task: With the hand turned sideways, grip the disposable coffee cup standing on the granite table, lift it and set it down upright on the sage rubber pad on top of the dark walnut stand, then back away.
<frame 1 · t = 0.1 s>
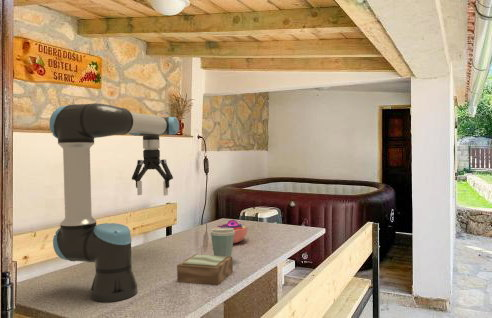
hand: (152, 195, 187), 28 cm above the table, tool pointing down, fingers open, 13 cm apart
cell model: (231, 242, 210), on the table
walnut stand: (206, 276, 154), on the table
disposable coffee cup: (223, 263, 172), on the table
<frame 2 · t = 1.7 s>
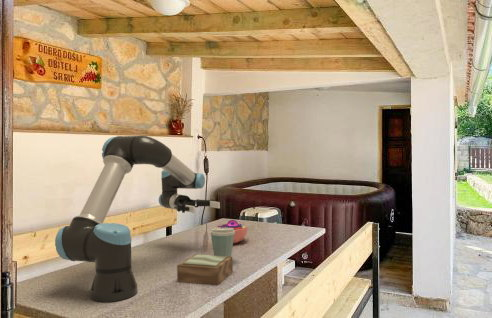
hand: (207, 207, 178), 23 cm above the table, tool horizontal, fingers open, 13 cm apart
nothing on the table moved.
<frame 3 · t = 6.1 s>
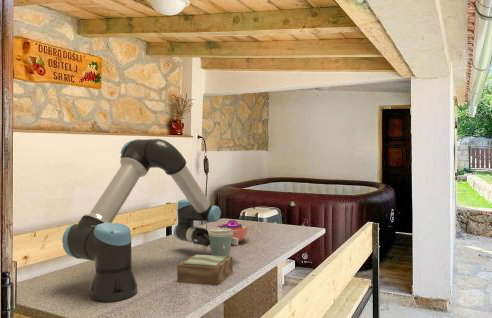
hand: (230, 243, 168), 9 cm above the table, tool horizontal, fingers open, 7 cm apart
disposable coffee cup: (221, 264, 170), on the table, touching gripper
everything else where it was.
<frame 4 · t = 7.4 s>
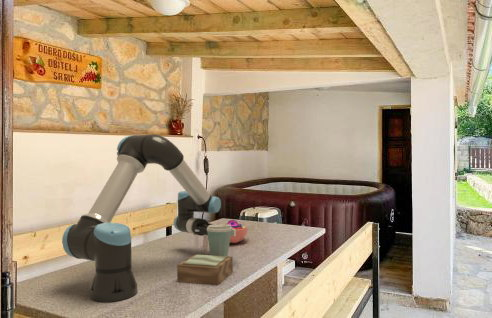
hand: (231, 233, 168), 13 cm above the table, tool horizontal, fingers closed on disposable coffee cup, 3 cm apart
disposable coffee cup: (219, 260, 168), point 2 cm above the table, touching gripper
everything else where it was.
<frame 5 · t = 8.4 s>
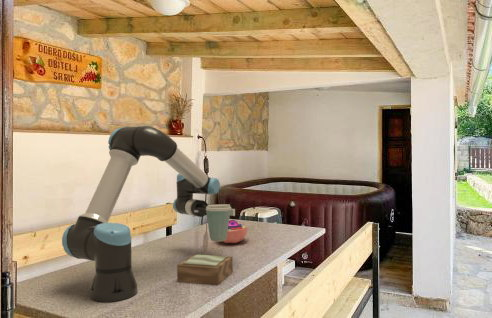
hand: (230, 213, 167), 22 cm above the table, tool horizontal, fingers closed on disposable coffee cup, 3 cm apart
disposable coffee cup: (219, 240, 167), point 11 cm above the table, touching gripper
everything else where it was.
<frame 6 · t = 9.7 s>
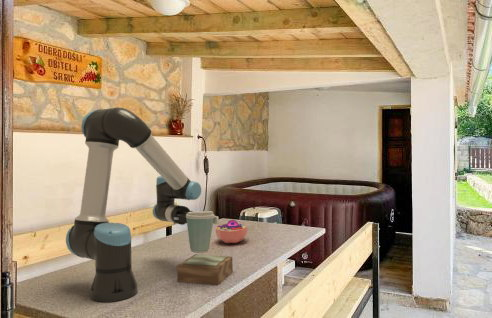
hand: (213, 221, 149), 22 cm above the table, tool horizontal, fingers closed on disposable coffee cup, 3 cm apart
disposable coffee cup: (200, 251, 149), point 11 cm above the table, touching gripper
everything else where it was.
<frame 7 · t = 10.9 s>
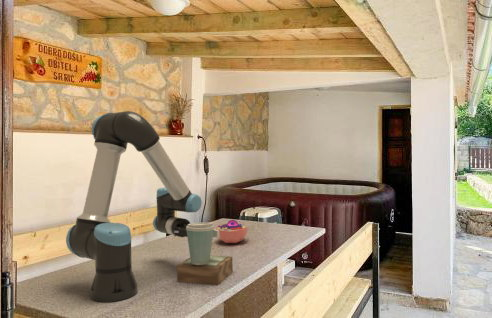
hand: (213, 234, 149), 17 cm above the table, tool horizontal, fingers closed on disposable coffee cup, 3 cm apart
disposable coffee cup: (201, 263, 149), point 6 cm above the table, touching gripper, walnut stand
everything else where it was.
when the fingers open (17 cm above the table, at t = 11.1 s): disposable coffee cup stays where it is, resting on walnut stand.
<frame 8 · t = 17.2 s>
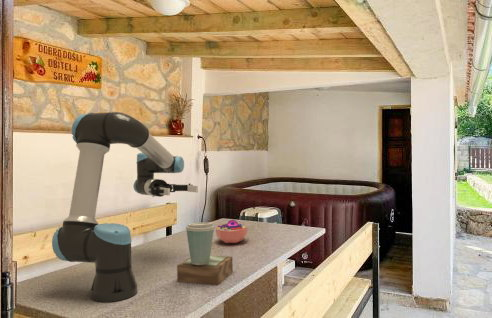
hand: (183, 190, 163), 32 cm above the table, tool horizontal, fingers open, 13 cm apart
disposable coffee cup: (201, 263, 149), point 6 cm above the table, touching walnut stand
everything else where it was.
at the end: disposable coffee cup inside the target area on the walnut stand (4.2 cm from its centre), point 6.2 cm above the walnut stand's base; disposable coffee cup tilted 0°; the gripper is holding nothing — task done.
